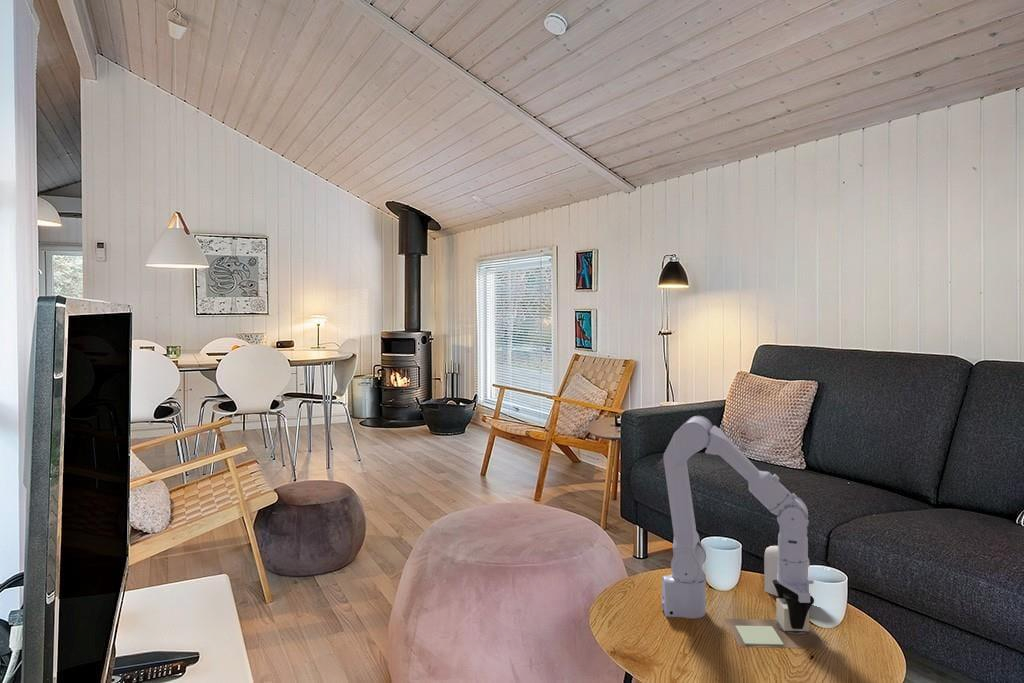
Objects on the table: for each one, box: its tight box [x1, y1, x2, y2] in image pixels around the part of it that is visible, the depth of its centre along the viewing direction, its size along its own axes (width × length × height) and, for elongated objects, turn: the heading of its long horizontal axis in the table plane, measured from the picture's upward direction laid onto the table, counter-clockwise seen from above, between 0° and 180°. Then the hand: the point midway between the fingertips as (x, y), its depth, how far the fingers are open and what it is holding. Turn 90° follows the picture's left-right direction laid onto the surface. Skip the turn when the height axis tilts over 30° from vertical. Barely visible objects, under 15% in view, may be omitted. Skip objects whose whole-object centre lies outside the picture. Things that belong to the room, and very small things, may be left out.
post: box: [776, 622, 809, 635], centre depth 141 cm, size 6×6×4 cm
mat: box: [735, 626, 784, 646], centre depth 137 cm, size 8×8×1 cm
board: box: [724, 618, 829, 650], centre depth 139 cm, size 17×12×1 cm
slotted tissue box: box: [775, 597, 810, 631], centre depth 141 cm, size 5×5×5 cm
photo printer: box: [763, 545, 811, 597], centre depth 156 cm, size 10×4×12 cm, turn 39°
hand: (792, 621), depth 141 cm, fingers closed on slotted tissue box, 5 cm apart
